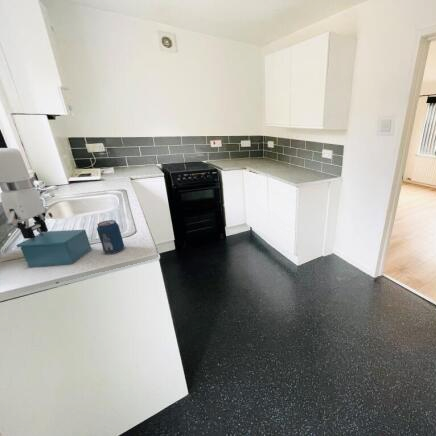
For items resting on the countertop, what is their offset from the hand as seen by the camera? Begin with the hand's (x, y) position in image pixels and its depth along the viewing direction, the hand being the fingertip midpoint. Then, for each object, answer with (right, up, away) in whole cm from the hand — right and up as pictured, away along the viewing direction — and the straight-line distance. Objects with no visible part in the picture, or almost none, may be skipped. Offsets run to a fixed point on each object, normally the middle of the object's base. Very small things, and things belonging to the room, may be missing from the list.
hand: (36, 234), depth 89 cm
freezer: (+5, -9, +4) cm, 12 cm away
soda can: (+22, -7, +9) cm, 25 cm away
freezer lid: (+5, -2, +1) cm, 6 cm away
